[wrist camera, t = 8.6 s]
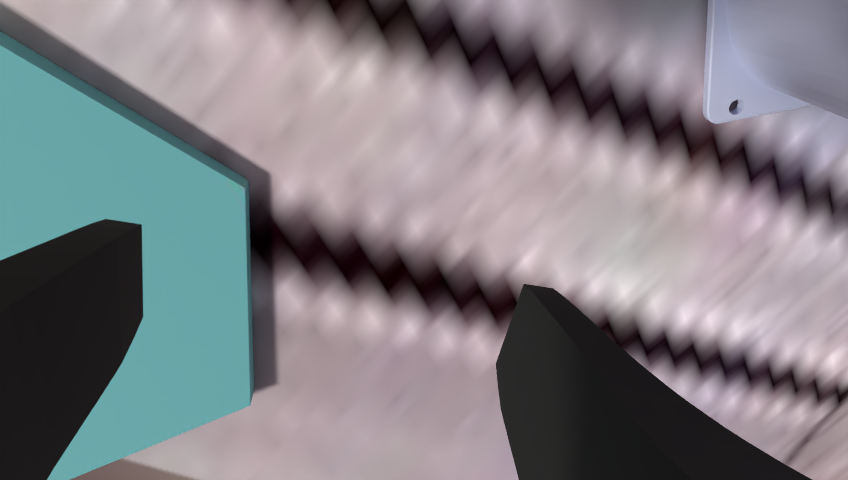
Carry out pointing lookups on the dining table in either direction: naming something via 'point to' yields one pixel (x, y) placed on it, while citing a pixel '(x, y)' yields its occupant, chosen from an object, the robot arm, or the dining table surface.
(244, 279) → the plaque
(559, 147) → the dining table surface
